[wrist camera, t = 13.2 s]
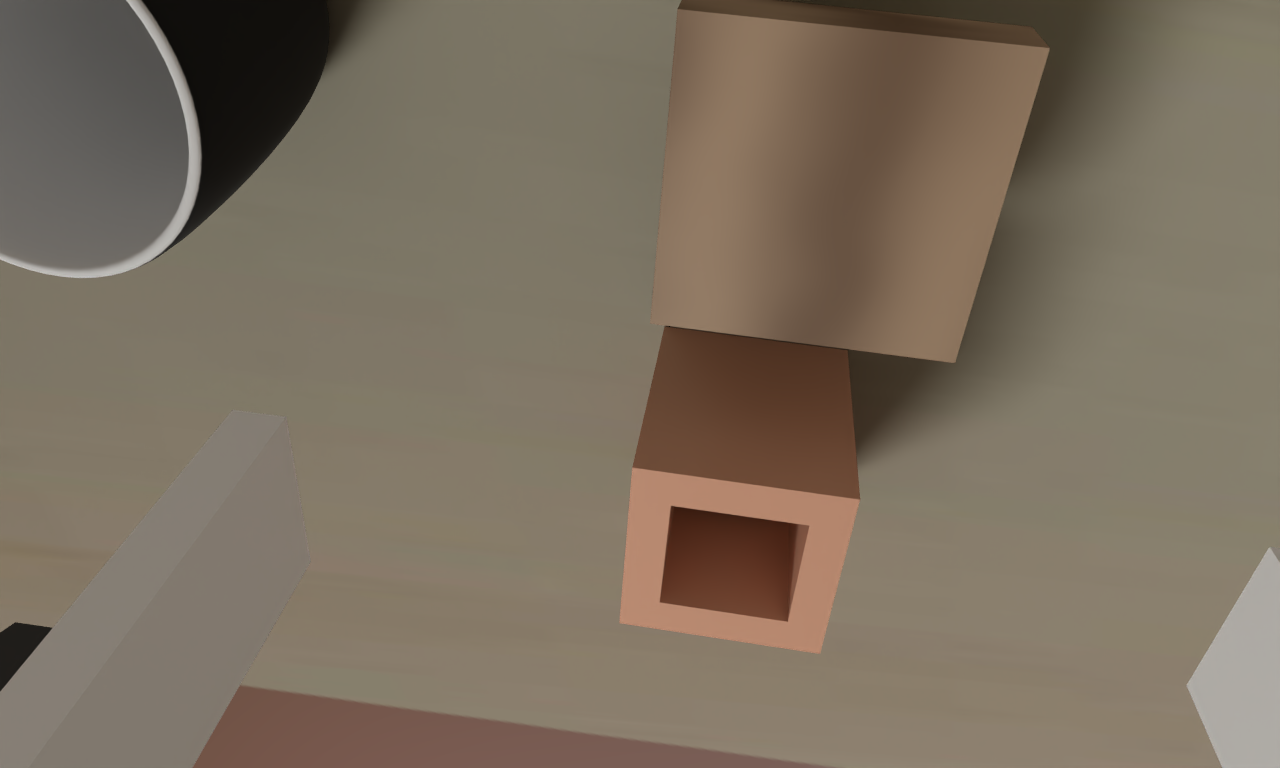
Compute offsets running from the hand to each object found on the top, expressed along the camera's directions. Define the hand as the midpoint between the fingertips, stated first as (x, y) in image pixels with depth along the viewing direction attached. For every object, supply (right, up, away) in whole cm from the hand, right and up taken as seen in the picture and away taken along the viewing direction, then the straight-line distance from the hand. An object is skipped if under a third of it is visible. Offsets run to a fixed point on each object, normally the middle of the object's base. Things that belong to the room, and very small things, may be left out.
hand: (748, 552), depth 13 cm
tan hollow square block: (+2, +1, +22) cm, 22 cm away
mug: (-16, +15, +16) cm, 27 cm away
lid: (+4, +8, +12) cm, 15 cm away
